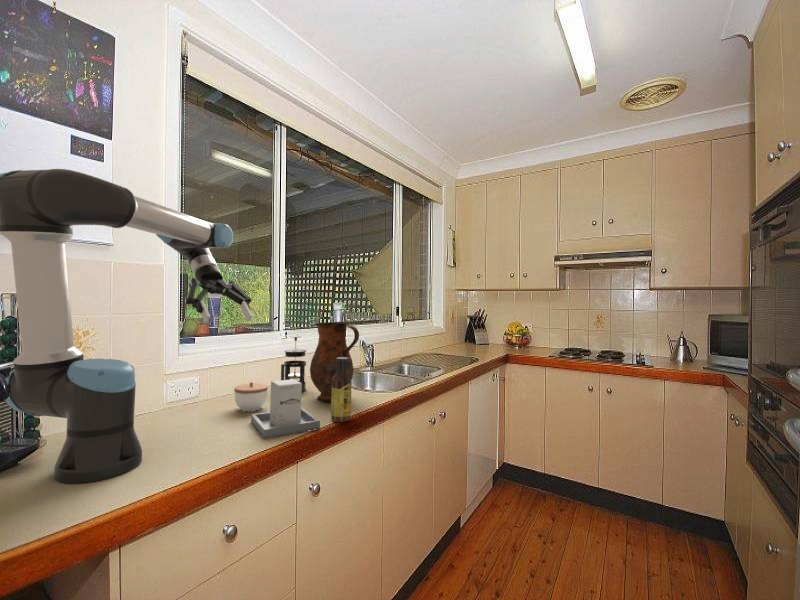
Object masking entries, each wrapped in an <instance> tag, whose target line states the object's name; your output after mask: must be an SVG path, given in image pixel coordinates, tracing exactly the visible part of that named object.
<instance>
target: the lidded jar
mask: <svg viewBox="0 0 800 600" xmlns="http://www.w3.org/2000/svg"><path fill="white" fill-rule="evenodd" d="M268 386H269V385H267V384H264V383H254V381H249V383H245V384H240V385H236V386H235V387H234V389H233V391H234V401H235V404H236V406H237V407H238V408H239V409H240V411H241V410H242V411H241V412H245V411H248V412H247V413H249V411H251V412H257V411H259V410H260V409H261V408H262V407H263V406H264V405H265V403H266V400H267V396H268ZM256 410H257V411H256Z"/></svg>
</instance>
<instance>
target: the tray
mask: <svg viewBox="0 0 800 600" xmlns="http://www.w3.org/2000/svg"><path fill="white" fill-rule="evenodd" d="M250 417H251V418H250V423H251V424H252V425H253V427H254V428H255V429H256V431H257V432H258V433H259V434H260V436H261V437H262V438H263V440H267V439H272V438H271V437H273V438H277V436H278V437H283V436H282V435H284V436H289V434H290V435H295V434H300V433H299V432H301V433H305V432H304V431H307V432H309V431H308V430H312V431H315V430H314V429H318V430H321V420H320V419H319V418H317V417H316V416H314V415H313V414H312V413H310V412H309V411H308V410H306V409H305V408H303V407H301V423H296V424H290V425H283V426H277V427H275V426H274V425H273V424H272V423H271V422H270V411H267V412H260V413H252V414H250ZM294 433H295V434H294ZM266 438H267V439H266Z"/></svg>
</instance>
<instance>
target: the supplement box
mask: <svg viewBox="0 0 800 600" xmlns="http://www.w3.org/2000/svg"><path fill="white" fill-rule="evenodd" d="M299 381H300V380H296V379H290V380H285V379H284V380H281V379H280V380H272V381H270V398H269V399H270V400H269V401H270V403H269V407H270V408H269V409H270V410H269V412H270V422H271V423H272V424H273V425H274V426H275V427H277V426H283V425H290V424H296V423H301V408H302V393H303V392H302V383H301V382H299Z"/></svg>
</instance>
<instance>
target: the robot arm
mask: <svg viewBox="0 0 800 600" xmlns="http://www.w3.org/2000/svg"><path fill="white" fill-rule="evenodd" d="M73 226H105V227H109V228H114V229H122V228H124V227H127V228H131V229H135V230H138V231H139V230H140V231H143V232H147V233H152V234H155V235H156V236H157V238H159V240H161V241H162V242H163V243H164V244H166V245H167V246H169V247H170V248H171V249H173V250H174V251H176V252H177V253H178V254H180V255H181V256H183V258H185V259H186V260H187V262H188V263H189V266H190V268H191V271H192V273H193V274H194V276H195V277H194V278H193V277H192V278H191V280H190V282H189V284H188V285H189V291H188V295H187V298H186V300H185V304H186V305H191V307H192V308H193V309H195V310H196V312H197V313H198V314H200V316H201V318H202V320H203V323H204V324H205V323H206V324H208V323H209V320H210V319H211V314H210V312H209V310H208V308H207V306H206V303H205V301H204V300H203V299H204V298H205V296H206V295H207V294H208V293H209V294H210V295H211V294H212V295H214V294H216V295H221V296H223V297H226V298H228V299H230V300H232V301H233V302H234V303H237V304H238V305H240V306H239V308H240V311H241V312H242V314H243V316H244V318H245V321H246V322H251V320H252V318H253V317H254V315H253V314H252V311H251V310H252V309H251V307H250V304H251V301H252V300H253V299H252V298H251V296H249V295H248V294H247V293H245V292H244V291H243V290H242V289H241V288H240V287H239V286H238V285H237V284H235V281H233V280H230V281H229V282H226V281H225V280H224V278H223V274H222V272H221V271H220V269H219V266H218V263H216V260H215V258H214V257H213V254H212V252H211V251H210V249H224V248H225V249H227V248H229V247H231V245H232V244H233V241H234V232H233V230H232V228H231V227H230V226H229V225H228V224H227V223H220V222H218V223H213V222H210V221H207V220H204V219H203V220H202V219H200V218H198V217H194V216H191V215H189V214H186V213H184V212H183V213H182V212H180V211H178V210H175V209H173V208H170V207H166V206H163V205H161V204H159V203H155V202H154V201H149V200H147V199H146V198H145V199H144V198H141V197H138V196H135V195H134V193H133V192H132V191H131V190H130V189H129V188H127V187H123V186H121V185H119V184H116V183H113V182H110V181H107V180H105V179H102V178H100V177H96V176H93V175H90V174H87V173H83V172H81V171H80V172H79V171H76V170H71V169H66V168H49V169H32V170H31V169H28V170H26V169H25V170H24V169H23V170H21V169H20V170H11V171H7V172H2V173H0V235H1V236H3V237H4V238H6V239H7V240H9V242H10V245H11V256H12V265H13V274H14V275H13V277H14V284H15V285H14V286H15V292H16V293H15V295H16V303H17V312H18V323H19V333H20V343H21V353H20V354H19V355H18V356H17V357H16V358H15V359H14V360H13V363H12V365H13V369H12V370H11V371H10V372H9V375H8V376H6V377H5V379H4V381H5V380H6V382H7V385H8V387H9V390H10V393H9V397H8V398H7V399H6V400H5V399H4V401H5V403H6V404H7V405H8V406H9V407H10V408H11V409H12V410H15V411H16V412H19V413H22V414H27V415H29V416H35V417H50V418H51V417H52V418H53V417H54V418H63V419H66V438H65V441H64V443H63V445H62V448H61V450H60V453H59V455H58V457H57V460H56V463H55V465H54V470H53V472H54V474H53V478H54V480H55V481H57V482H59V483H64V484H82V483H90V482H91V483H92V482H96V481H101V480H105V479H106V480H107V479H110V478H114V477H117V476H120V475H123V474H125V473H127V472H130V471H131V470H133V469H135V468H136V467H137V466H139V465H140V464H141V463H142V461H143V449H142V445H141V443H140V441H139V439H138V435H137V433H136V430H135V427H134V426H135V424H134V423H135V421H134V420H135V402H136V401H135V400H136V386H137V385H136V384H137V379H136V369H135V368H134V366H133V365H132V364H131V363H129V362H127V361H124V360H122V359H114V358H106V359H105V358H87V359H84V351H82V350H81V349H79V348H77V347H76V346H75V340H74V332H73V331H74V329H73V321H72V320H73V319H72V310H71V309H72V307H71V298H70V288H69V286H70V285H69V275H68V266H67V265H68V263H67V254H66V242H68V241H69V240H70V239H71V238H72V237H74V233H73V232H74V231H73ZM198 286H199V287H200V289H201V291H200V292H199V294H198V295H197V296H196V298H195V292H196V289H197V288H198Z"/></svg>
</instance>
